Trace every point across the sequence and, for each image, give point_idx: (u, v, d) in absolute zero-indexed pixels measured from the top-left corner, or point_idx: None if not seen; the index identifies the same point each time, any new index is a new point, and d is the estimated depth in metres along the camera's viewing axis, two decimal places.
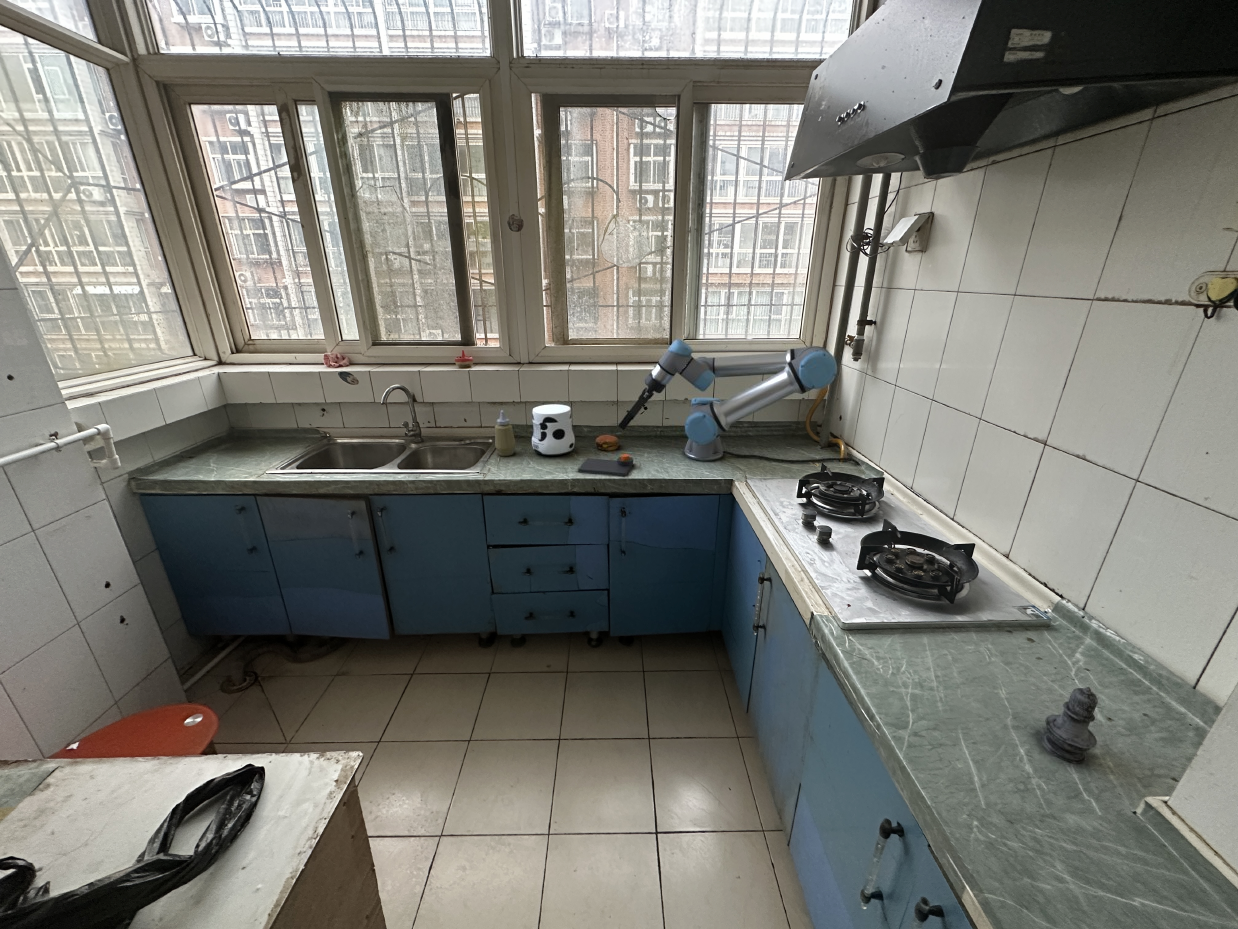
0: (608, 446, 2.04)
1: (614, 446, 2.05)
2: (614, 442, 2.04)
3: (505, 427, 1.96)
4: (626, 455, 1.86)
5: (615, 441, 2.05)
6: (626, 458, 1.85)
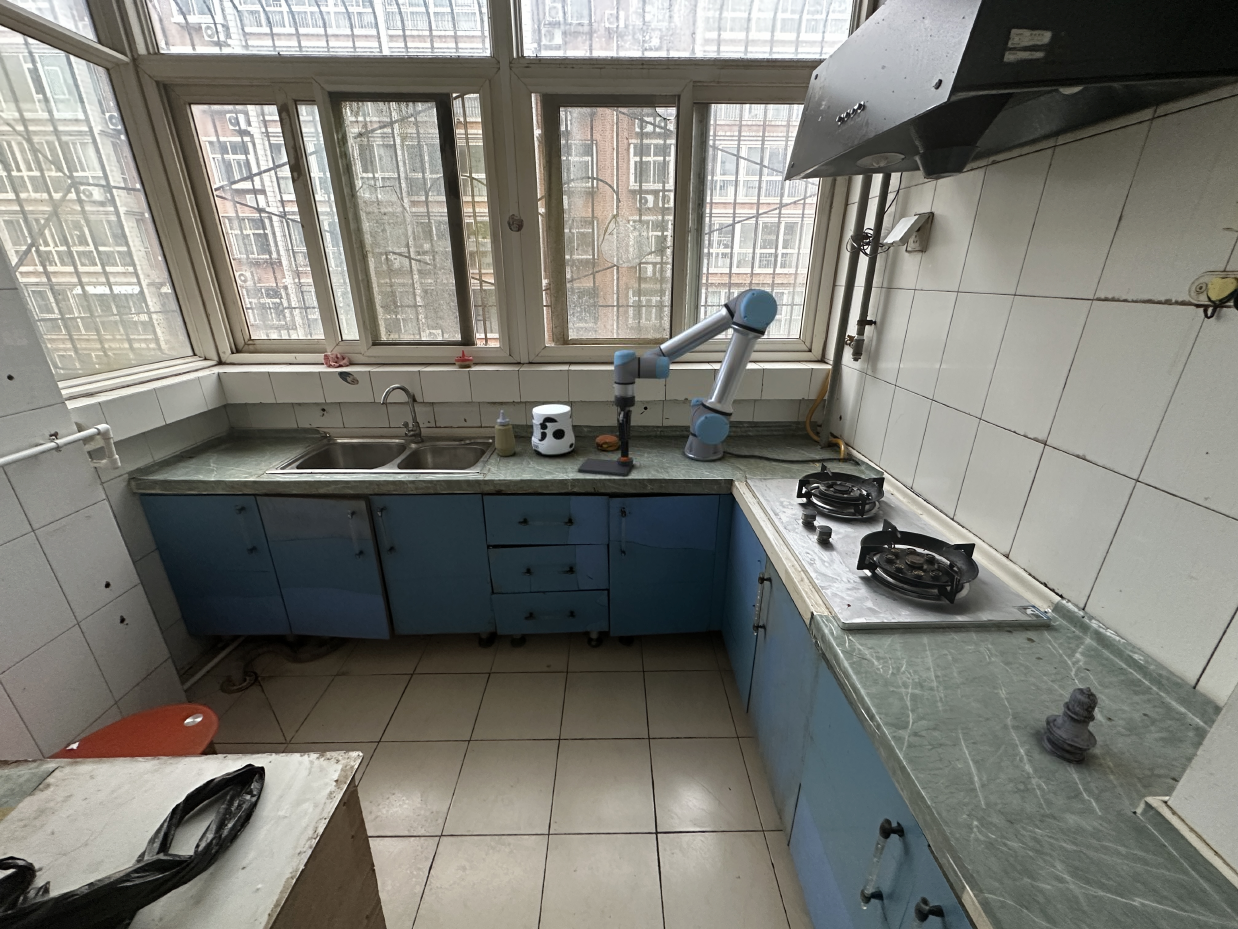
0: (608, 446, 2.04)
1: (614, 446, 2.05)
2: (614, 442, 2.04)
3: (505, 427, 1.96)
4: None
5: (615, 441, 2.05)
6: (626, 460, 1.86)
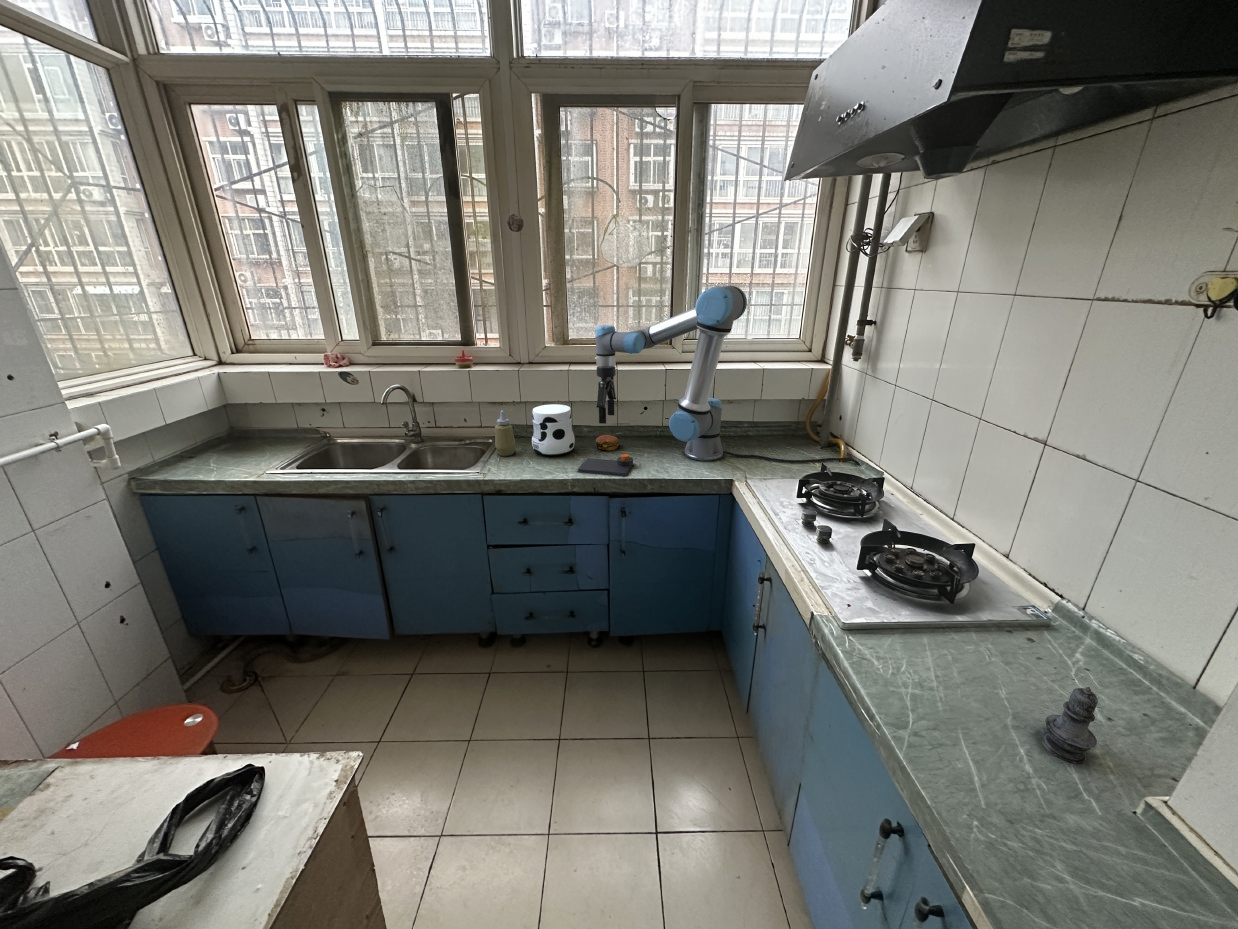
0: (608, 446, 2.04)
1: (614, 446, 2.05)
2: (614, 442, 2.04)
3: (505, 427, 1.96)
4: (626, 455, 1.86)
5: (615, 441, 2.05)
6: (626, 458, 1.85)
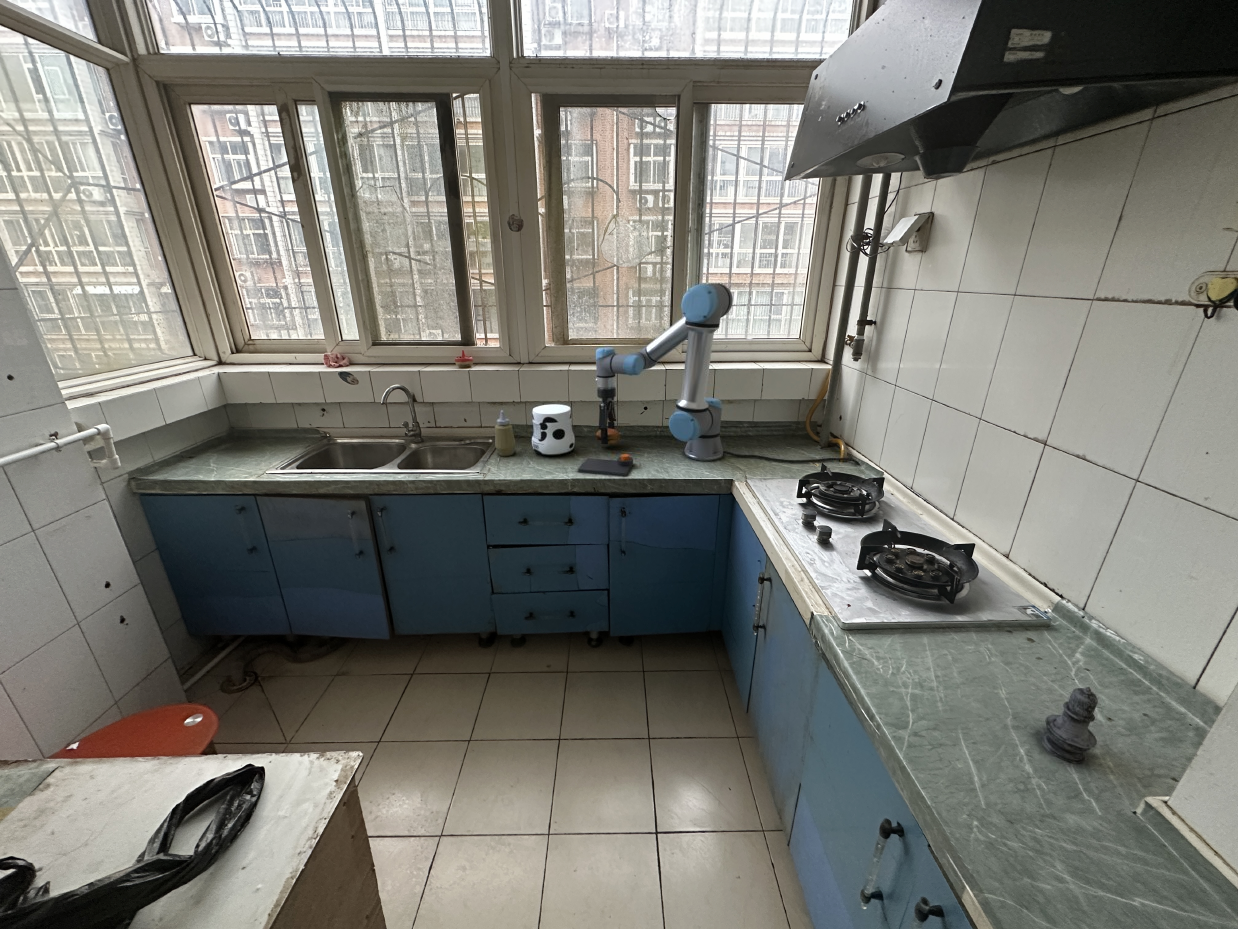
0: (609, 439, 2.02)
1: (615, 439, 2.04)
2: (615, 435, 2.03)
3: (505, 427, 1.96)
4: (626, 455, 1.86)
5: (616, 434, 2.04)
6: (626, 458, 1.85)
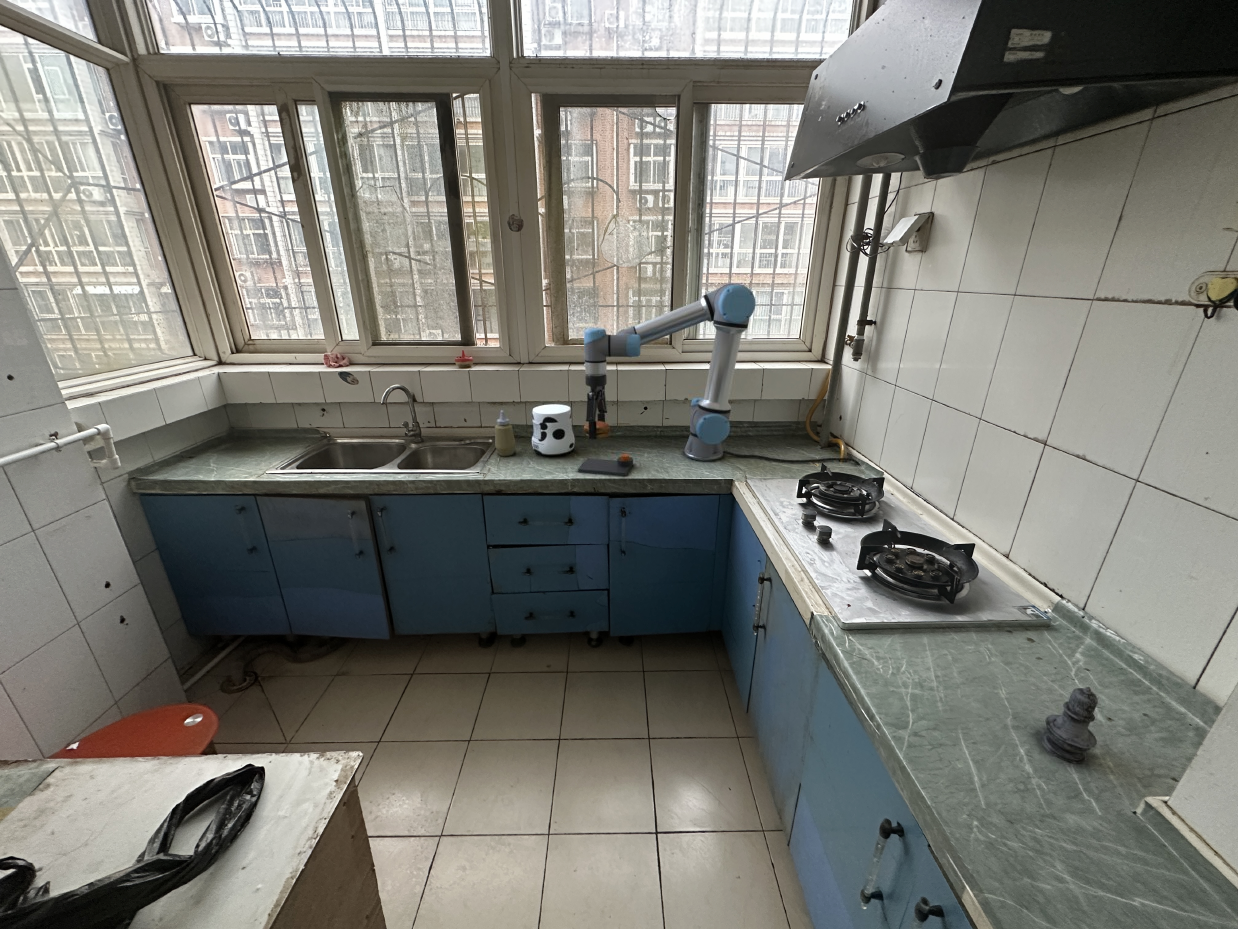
0: (598, 433, 1.78)
1: (605, 433, 1.80)
2: (605, 429, 1.79)
3: (505, 427, 1.96)
4: (626, 455, 1.86)
5: (606, 428, 1.80)
6: (626, 458, 1.85)
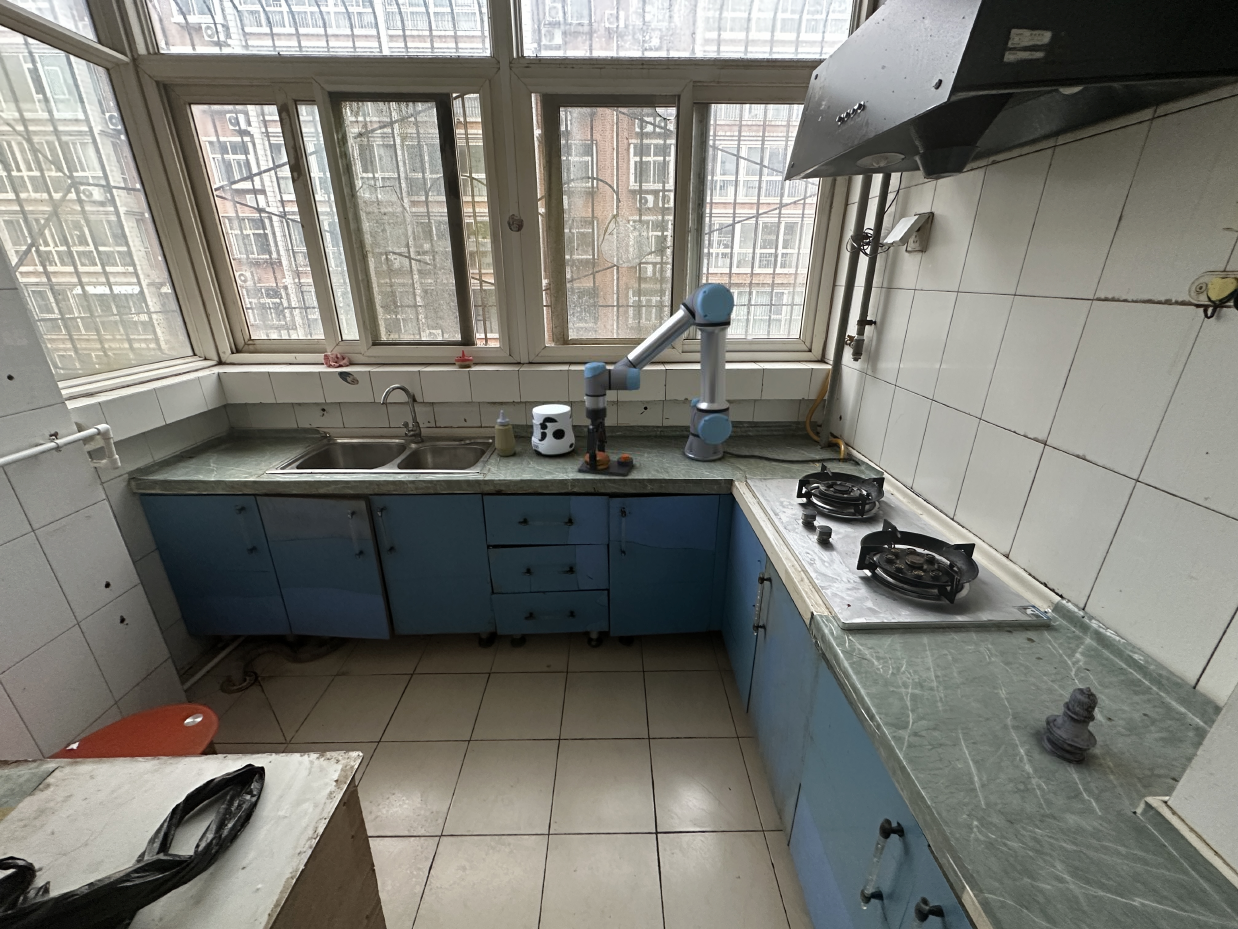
0: (598, 465, 1.81)
1: (605, 464, 1.83)
2: (605, 460, 1.82)
3: (505, 427, 1.96)
4: (626, 455, 1.86)
5: (606, 459, 1.82)
6: (626, 458, 1.85)
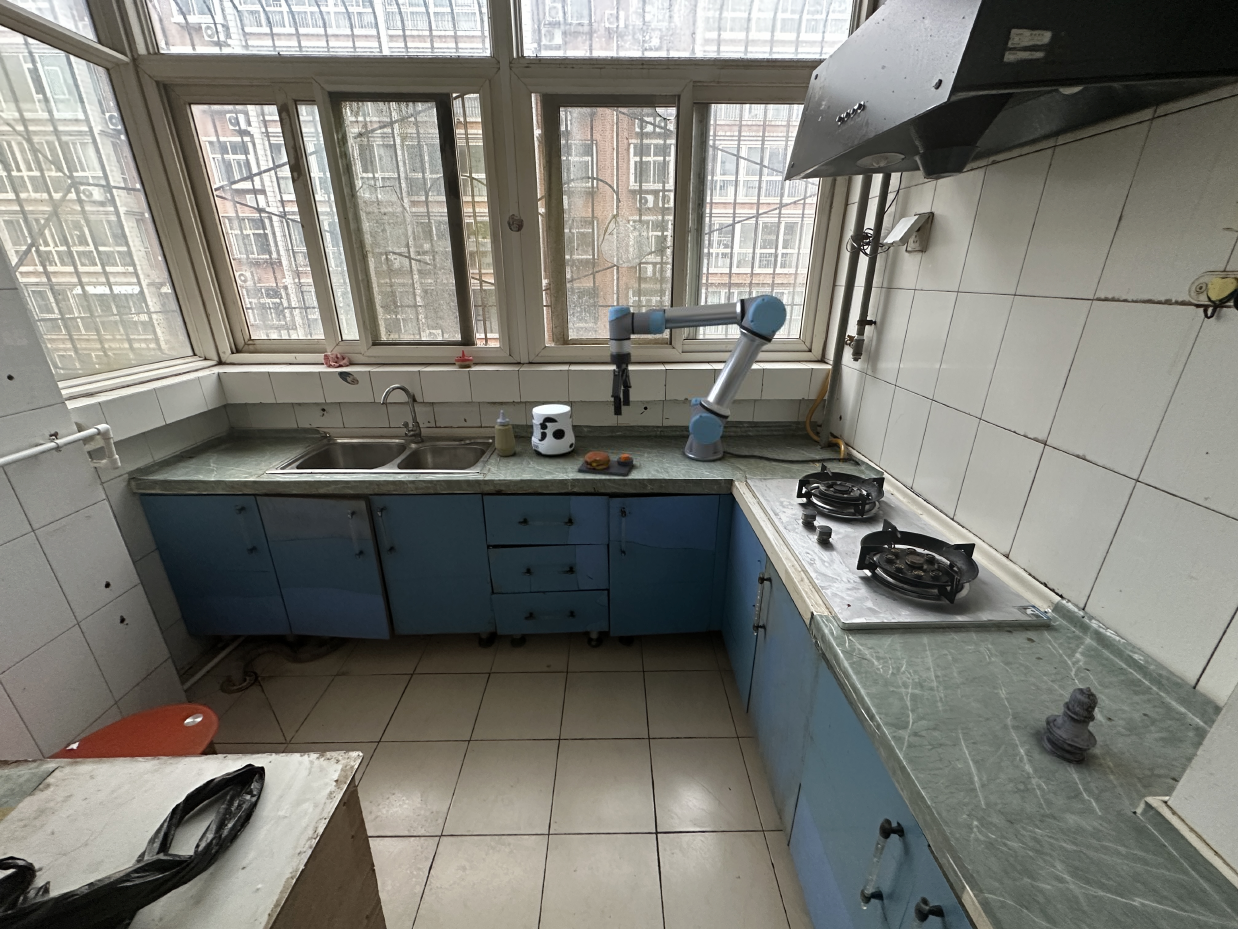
0: (598, 465, 1.81)
1: (605, 464, 1.83)
2: (605, 460, 1.82)
3: (505, 427, 1.96)
4: (626, 455, 1.86)
5: (606, 459, 1.82)
6: (626, 458, 1.85)
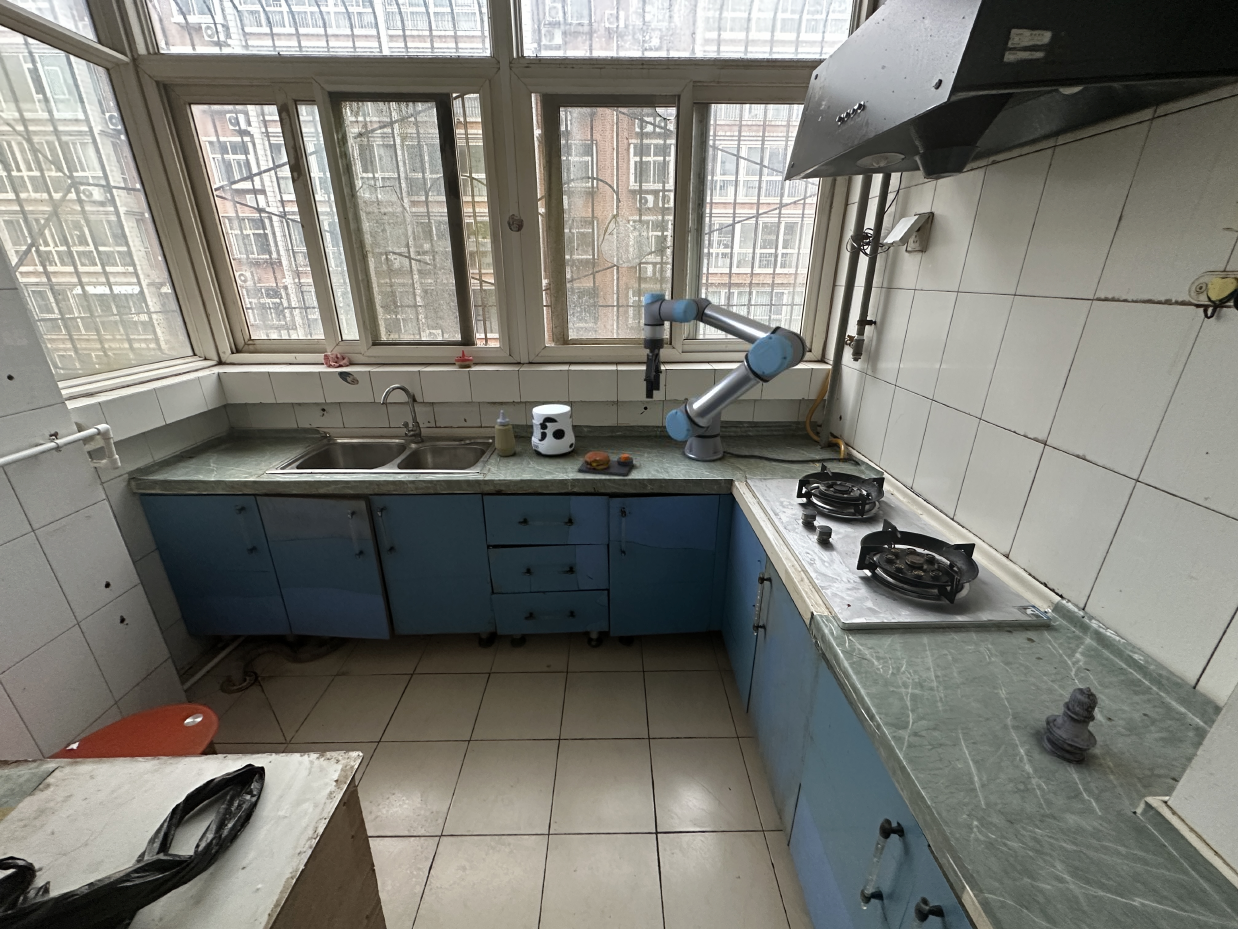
0: (598, 465, 1.81)
1: (605, 464, 1.83)
2: (605, 460, 1.82)
3: (505, 427, 1.96)
4: (626, 455, 1.86)
5: (606, 459, 1.82)
6: (626, 458, 1.85)
